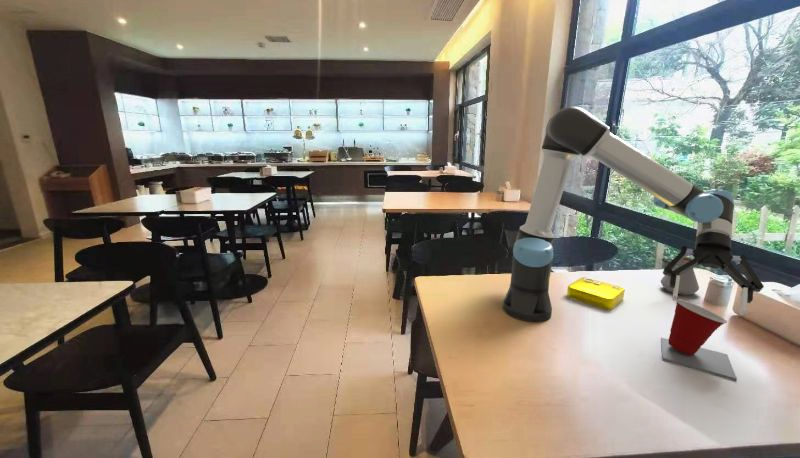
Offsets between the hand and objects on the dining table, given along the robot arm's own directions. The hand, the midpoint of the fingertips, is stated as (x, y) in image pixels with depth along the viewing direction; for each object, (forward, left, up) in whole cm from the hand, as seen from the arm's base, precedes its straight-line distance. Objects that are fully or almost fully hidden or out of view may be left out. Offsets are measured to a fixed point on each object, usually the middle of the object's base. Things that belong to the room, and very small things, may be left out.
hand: (707, 305), depth 91 cm
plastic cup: (-4, -4, -12) cm, 13 cm away
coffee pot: (-4, +43, -13) cm, 45 cm away
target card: (-1, -5, -13) cm, 14 cm away
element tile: (-27, +22, -14) cm, 37 cm away
